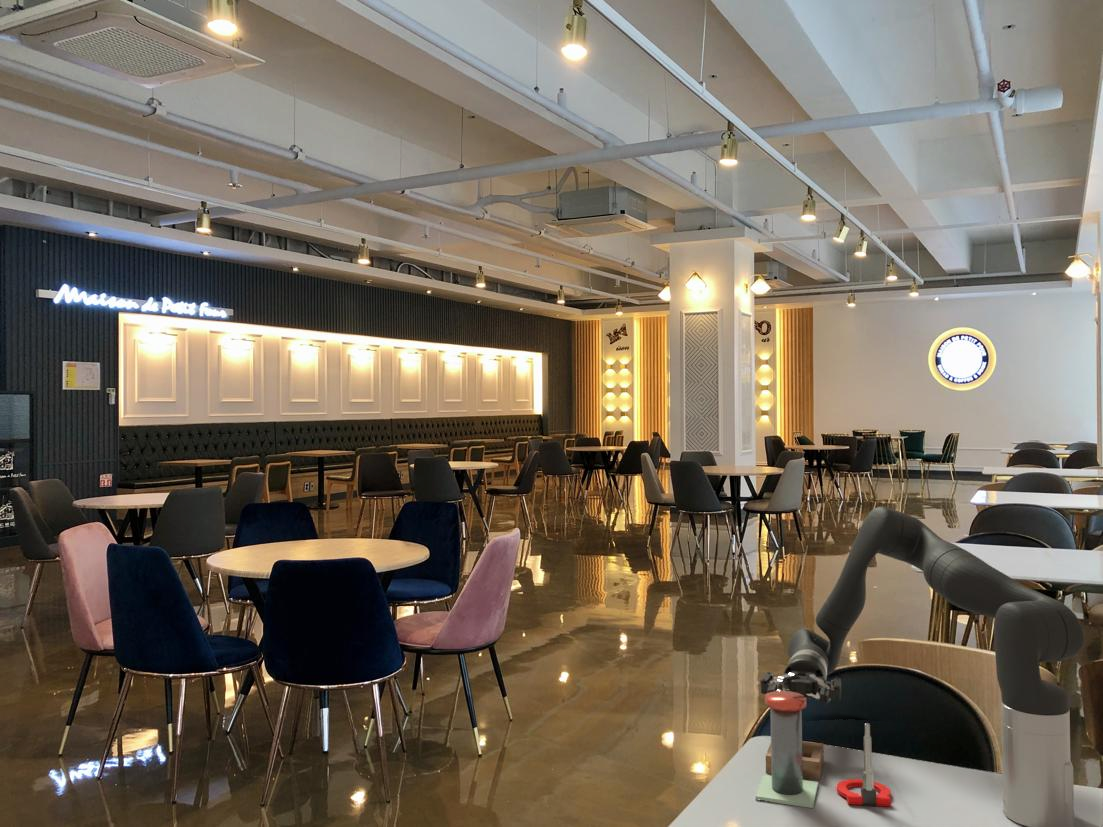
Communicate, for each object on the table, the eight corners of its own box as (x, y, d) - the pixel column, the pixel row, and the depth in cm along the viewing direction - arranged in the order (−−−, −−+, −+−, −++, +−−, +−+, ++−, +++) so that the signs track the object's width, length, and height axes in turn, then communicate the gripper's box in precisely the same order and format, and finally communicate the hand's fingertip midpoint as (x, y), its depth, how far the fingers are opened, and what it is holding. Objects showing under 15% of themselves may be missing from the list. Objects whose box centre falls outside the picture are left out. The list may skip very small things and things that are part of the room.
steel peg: (809, 783, 150) (808, 693, 150) (805, 799, 144) (804, 705, 144) (769, 778, 152) (768, 689, 152) (764, 794, 146) (762, 701, 146)
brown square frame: (824, 760, 161) (823, 743, 161) (819, 779, 153) (819, 762, 153) (773, 754, 165) (772, 737, 165) (765, 772, 156) (765, 755, 156)
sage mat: (818, 785, 151) (818, 782, 151) (812, 808, 142) (812, 804, 142) (763, 778, 154) (763, 774, 154) (755, 799, 146) (755, 796, 146)
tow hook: (833, 784, 152) (842, 806, 143) (831, 707, 153) (840, 724, 143) (884, 787, 151) (897, 809, 142) (883, 709, 151) (895, 726, 142)
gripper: (768, 650, 177) (756, 673, 162) (844, 656, 172) (838, 680, 156) (769, 688, 177) (757, 714, 162) (845, 695, 172) (839, 723, 156)
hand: (797, 697), depth 159 cm, fingers open, 8 cm apart
